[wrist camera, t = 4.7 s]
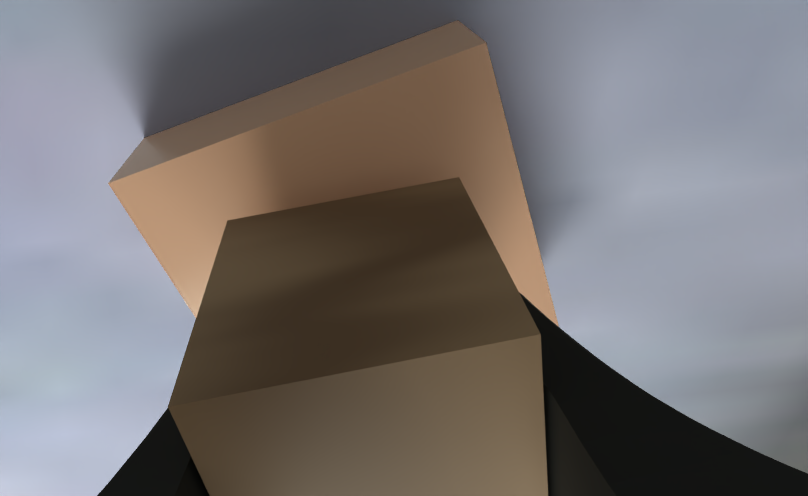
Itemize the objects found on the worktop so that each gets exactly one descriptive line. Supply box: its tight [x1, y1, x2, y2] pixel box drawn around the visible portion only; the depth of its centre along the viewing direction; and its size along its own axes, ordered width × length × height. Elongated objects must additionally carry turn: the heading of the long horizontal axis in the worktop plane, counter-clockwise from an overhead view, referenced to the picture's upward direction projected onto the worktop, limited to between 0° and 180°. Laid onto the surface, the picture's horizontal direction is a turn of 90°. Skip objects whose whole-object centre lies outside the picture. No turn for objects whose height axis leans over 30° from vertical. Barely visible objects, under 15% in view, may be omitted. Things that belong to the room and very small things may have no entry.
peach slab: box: [108, 20, 559, 327], centre depth 15 cm, size 8×8×3 cm
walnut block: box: [168, 177, 548, 496], centre depth 10 cm, size 4×4×5 cm
